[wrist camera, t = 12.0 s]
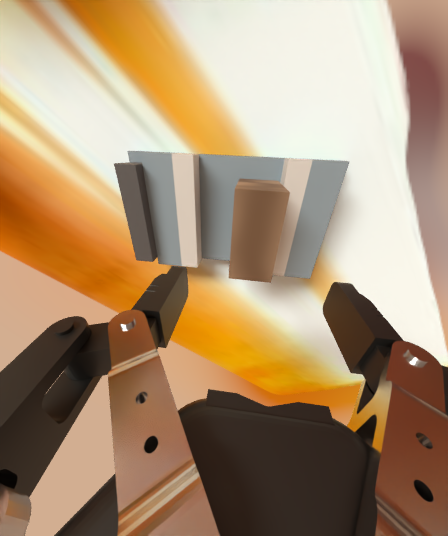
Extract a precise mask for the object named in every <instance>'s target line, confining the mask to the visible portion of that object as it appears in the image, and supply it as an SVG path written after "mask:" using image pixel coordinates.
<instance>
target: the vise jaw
mask: <svg viewBox="0 0 448 536" xmlns="http://www.w3.org/2000/svg"><path fill="white" fill-rule="evenodd" d="M140 154H141V160H142V163H141V162H130V163H115V164H114V166H115V170H116V174H117V178H118V183H119V187H120V191H121V196H122V200H123V204H124V209H125V213H126V217H127V221H128V226H129V230H130V234H131V239H132V243H133V247H134V251H135V256H136V260H139V261H149V262H153V261H154V260H155V259H156V258H157V257H158V263H159V264H167V265H177V266H187V267H197V268H198V265H199V263H200V261H201V259H202V252H201V214H200V175H199V154H183V153H162V152H140Z"/></svg>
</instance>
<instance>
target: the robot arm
mask: <svg viewBox="0 0 448 536" xmlns="http://www.w3.org/2000/svg"><path fill="white" fill-rule="evenodd" d="M187 297H188V278H187V269H186V267H178V266H172V267H171V268H170V270H169V271H168V273H167V274H161V275H160V276H158V277H156V278H155V279H154V280H153V282H152V283H151V284H150V286H149V287H148V288H147V290H146V291H145V292H144V294H143V295H142V296H141V298H140V299H139V300H138V302H137V303H136V304H135V305H134V307H133V308H132V309H131V310H128V311H124V312H122V313H119V314H118V315H116V316H115V317H114V318H113V319H112V320H111V321H110V322H109V323H101V324H94V325H88V323H87V321H86V320H85V319H84V318H82V317H79V316H74V317H68V318H65V319H62V320H60V321H58V322H56V323H54V324H52V325H51V326H50V327H49V328H47V329H46V330H45V331H44V332H43V333H42V334H41V335H40V336H39V337H38V338H37V339H36V340H34V341H33V342H32V343H31V344H30V345H29V346H28V347H27V348H26V349H25V350H24V351H23V352H22V353H20V354H19V355H18V356H17V357H16V358H15V359H14V360H13V361H12V362H11V363H10V364H9V365H8V366H6V368H4V369H3V370H2V371H1V372H0V536H25V532H26V529H27V526H28V523H29V520H30V516H31V502H30V499H29V497H30V495H31V493H32V492H33V490H34V489H35V487H36V485H37V483H38V482H39V480H40V479H41V477H42V475H43V473H44V472H45V470H46V469H47V467H48V465H49V464H50V462H51V460H52V459H53V457H54V455H55V453H56V452H57V450H58V448H59V447H60V445H61V443H62V442H63V440H64V438H65V437H66V435H67V433H68V432H69V430H70V428H71V427H72V425H73V423H74V422H75V420H76V418H77V417H78V415H79V413H80V412H81V410H82V408H83V407H84V405H85V403H86V402H87V400H88V398H89V397H90V395H91V393H92V392H93V390H94V388H95V387H96V385H97V383H98V382H99V380H100V378H101V377H102V375H107V374H108V383H109V396H110V409H111V422H112V436H113V448H114V462H115V474H114V475H113V476H112V477H111V478H110V479H109V480H108V482H106V483H105V484H104V486H102V487H101V489H99V491H98V492H97V493H96V494H95V495H94V496H93V497H92V498H91V499H90V500H89V501H88V502H87V503H86V504H85V505H84V506H83V507H82V508H81V509H80V510H79V511H78V512H77V513H76V514H75V515H74V516H73V517H72V518H71V519H70V520H69V521H68V522H67V523H66V524H65V525H64V526H63V527H62V528H61V529H60V530H59V531H58V532H57V533H56V534H55V535H54V536H448V367H445V366H442V365H441V364H440V363H439V362H438V361H437V359H436V358H435V357H434V356H433V355H431V354H430V353H429V352H427V351H426V350H424V349H423V348H421V347H419V346H417V345H415V344H413V343H410V342H406V341H403V339H402V338H401V337H400V336H399V335H398V333H397V332H396V331H395V330H394V329H393V327H392V326H391V325H390V324H389V323H388V321H387V320H386V319H385V318H384V317H383V315H382V314H381V313H380V312H379V311H377V308H376V307H375V306H374V304H373V303H372V302H371V301H370V300H368V299H367V298H366V297H364V296H363V295H362V294H359V293H358V291H357V290H356V289H355V288H354V286H353V285H352V284H349V283H339V282H334V283H333V284H332V286H331V288H330V290H329V293H328V295H327V297H326V300H325V302H324V305H323V314H324V317H325V319H326V321H327V323H328V325H329V327H330V329H331V332H332V334H333V336H334V338H335V340H336V342H337V344H338V347H339V349H340V351H341V353H342V355H343V357H344V359H345V362H346V364H347V366H348V368H349V370H350V372H351V373H356V374H363V376H364V378H365V379H364V381H363V382H362V384H361V388H360V391H359V394H358V397H357V400H356V404H355V407H354V411H353V414H352V417H351V419H350V422H349V424H348V425H347V426H345V425H344V424H342V423H340V422H339V421H337V420H335V419H333V418H332V416H331V413H330V409H329V407H327V406H320V405H314V404H307V403H300V402H296V403H290V404H284V405H278V406H272V407H268V406H264V405H262V404H260V403H257V402H255V401H253V400H250V399H248V398H246V397H244V396H241V395H239V394H237V393H230V392H224V391H216V390H210V389H208V394H207V398H206V399H200V400H197V401H194V402H192V403H190V404H187V405H186V406H184V407H183V408H181V409H180V410H178V411H177V408H176V405H175V402H174V398H173V395H172V392H171V389H170V386H169V383H168V380H167V377H166V374H165V371H164V368H163V365H162V362H161V359H160V356H159V353H158V351H157V349H158V347H163V348H166V347H167V345H168V342H169V340H170V338H171V335H172V333H173V330H174V328H175V326H176V323H177V321H178V319H179V316H180V314H181V312H182V309H183V307H184V305H185V302H186V300H187ZM63 371H64V372H63ZM62 372H63V373H62ZM61 373H62V374H61ZM60 374H61V375H60ZM59 375H60V377H59ZM58 377H59V378H58ZM57 378H58V379H57ZM56 379H57V380H56ZM55 381H56V382H55ZM54 382H55V383H54ZM53 383H54V384H53ZM52 384H53V386H52ZM51 386H52V387H51ZM50 387H51V388H50ZM49 388H50V389H49ZM48 389H49V391H48ZM47 391H48V392H47ZM46 392H47V393H46Z"/></svg>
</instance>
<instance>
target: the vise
mask: <svg viewBox="0 0 448 536" xmlns="http://www.w3.org/2000/svg"><path fill="white" fill-rule="evenodd" d="M140 152H144V151H128V155H129V161H130V162H141V163H142V160H141V154H140ZM162 153H165V152H162ZM183 154H186V153H183ZM348 164H349V162H348V161H335V160H314V159H293V158H272V157H250V156H229V155H208V154H199V175H200V214H201V252H202V258H206V259H217V260H228V261H230V251H231V236H232V221H233V207H234V192H235V187H236V185H237V183H238V181H239V179H240V178H241V179H257V180H274V181H279V182H280V183H281V184H282V185H283V186H284V187H285V188H286V189H287V190H288V191H289V192H290V195H289V200H288V204H287V209H286V214H285V218H284V223H283V228H282V233H281V237H280V242H279V247H278V251H277V256H276V261H275V265H274V270H273V275H278V276H288V277H298V278H308V279H310V277H311V274H312V271H313V268H314V265H315V262H316V259H317V256H318V253H319V250H320V247H321V244H322V241H323V239H324V236H325V233H326V230H327V227H328V224H329V221H330V218H331V215H332V212H333V209H334V206H335V203H336V200H337V197H338V194H339V191H340V188H341V185H342V182H343V179H344V176H345V173H346V170H347V167H348Z"/></svg>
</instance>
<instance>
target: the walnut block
mask: <svg viewBox="0 0 448 536" xmlns="http://www.w3.org/2000/svg"><path fill="white" fill-rule="evenodd" d="M289 195H290V192H289V191H288V190H287V189H286V188H285V187H284V186H283V185H282V184H281V183H280V182H279V181H274V180H257V179H241V178H240V179H239V181H238V183H237V185H236V187H235V192H234V207H233V221H232V236H231V251H230V265H229V278H232V279H242V280H251V281H261V282H270V283H271V279H272V275H273V270H274V265H275V261H276V256H277V251H278V247H279V242H280V237H281V233H282V228H283V223H284V218H285V214H286V209H287V204H288V200H289Z"/></svg>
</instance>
